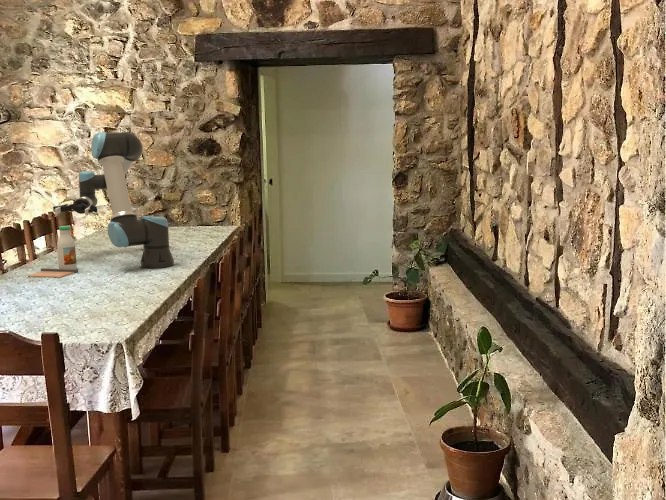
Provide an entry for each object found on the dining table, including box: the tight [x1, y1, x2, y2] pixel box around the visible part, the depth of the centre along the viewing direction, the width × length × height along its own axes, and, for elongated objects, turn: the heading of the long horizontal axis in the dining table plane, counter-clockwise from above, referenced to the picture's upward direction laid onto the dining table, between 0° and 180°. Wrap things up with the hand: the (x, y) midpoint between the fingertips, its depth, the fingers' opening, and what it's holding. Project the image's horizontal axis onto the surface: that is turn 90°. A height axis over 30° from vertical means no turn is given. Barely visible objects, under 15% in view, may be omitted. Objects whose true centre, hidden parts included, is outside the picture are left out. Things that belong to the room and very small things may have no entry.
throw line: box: [40, 267, 79, 274], centre depth 306 cm, size 18×1×2 cm, turn 78°
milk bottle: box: [56, 225, 78, 269], centre depth 311 cm, size 8×8×20 cm
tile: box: [27, 270, 75, 279], centre depth 300 cm, size 16×10×1 cm, turn 78°
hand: (70, 212), depth 316 cm, fingers open, 13 cm apart
